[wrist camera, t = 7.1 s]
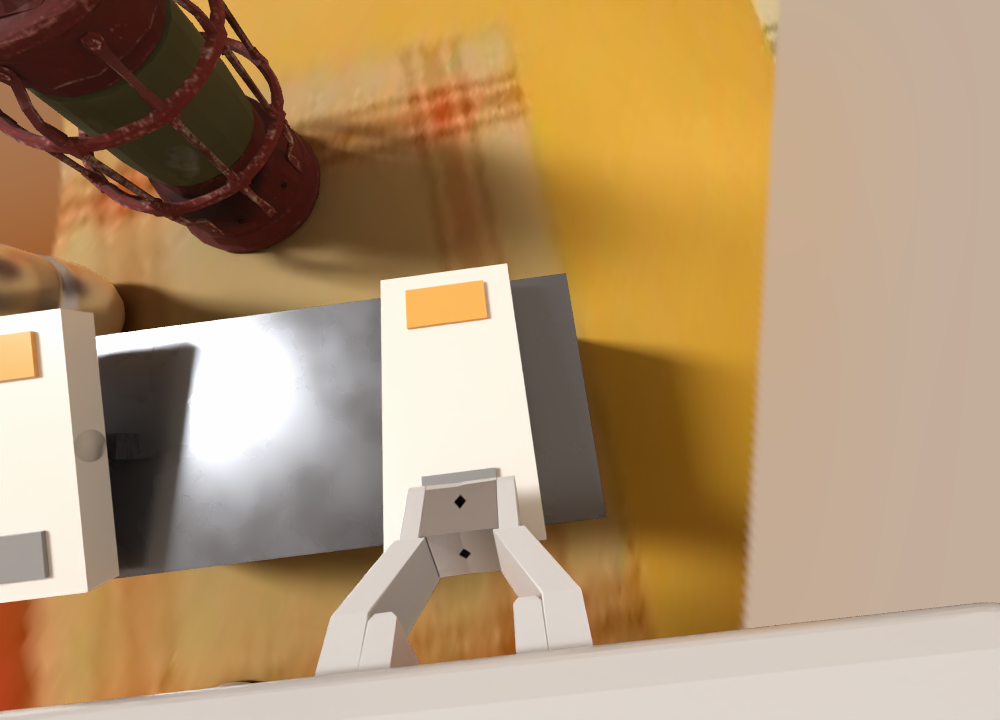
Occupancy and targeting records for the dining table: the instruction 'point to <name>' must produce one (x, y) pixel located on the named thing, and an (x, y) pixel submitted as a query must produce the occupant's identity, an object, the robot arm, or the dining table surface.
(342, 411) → the switch box
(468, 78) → the dining table surface
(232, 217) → the lantern
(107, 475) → the block
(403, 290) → the rocker on
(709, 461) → the dining table surface
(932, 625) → the robot arm
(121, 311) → the silver tall rounded piece
